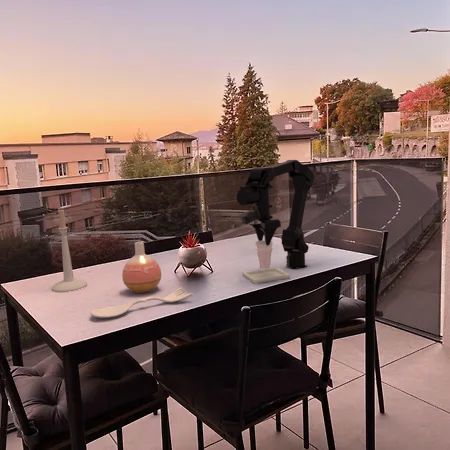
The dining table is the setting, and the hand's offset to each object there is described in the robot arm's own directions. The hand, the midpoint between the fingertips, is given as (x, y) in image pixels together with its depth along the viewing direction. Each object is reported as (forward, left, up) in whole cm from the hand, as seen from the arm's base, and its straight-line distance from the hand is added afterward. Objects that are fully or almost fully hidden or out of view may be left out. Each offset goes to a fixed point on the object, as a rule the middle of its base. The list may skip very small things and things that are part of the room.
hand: (264, 243), depth 172 cm
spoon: (+48, +13, -13) cm, 52 cm away
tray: (0, 0, -13) cm, 13 cm away
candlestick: (+70, -25, -13) cm, 75 cm away
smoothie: (0, 0, -9) cm, 9 cm away
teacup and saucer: (-17, -44, -14) cm, 49 cm away
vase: (+45, -6, -13) cm, 47 cm away
